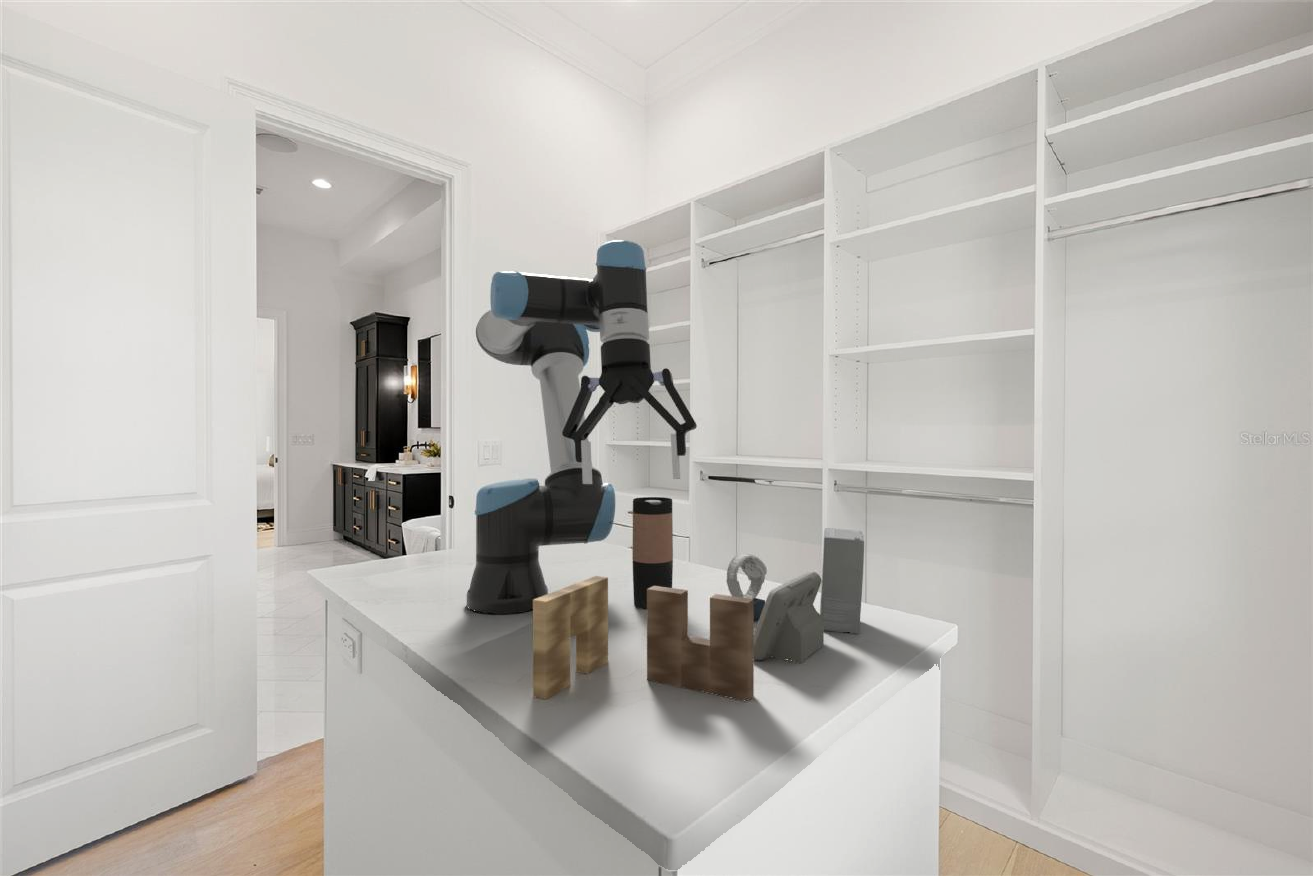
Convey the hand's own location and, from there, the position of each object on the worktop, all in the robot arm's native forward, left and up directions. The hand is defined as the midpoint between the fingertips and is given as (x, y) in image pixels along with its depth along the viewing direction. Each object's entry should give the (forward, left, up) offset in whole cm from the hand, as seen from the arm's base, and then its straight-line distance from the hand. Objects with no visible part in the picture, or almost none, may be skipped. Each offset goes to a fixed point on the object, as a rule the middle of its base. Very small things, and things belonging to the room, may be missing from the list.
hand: (631, 481), depth 91 cm
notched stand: (+14, -8, -25) cm, 30 cm away
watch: (+9, +23, -26) cm, 36 cm away
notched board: (-2, -13, -25) cm, 28 cm away
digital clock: (+20, +12, -26) cm, 35 cm away
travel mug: (-9, +22, -26) cm, 35 cm away
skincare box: (+25, +26, -26) cm, 45 cm away
